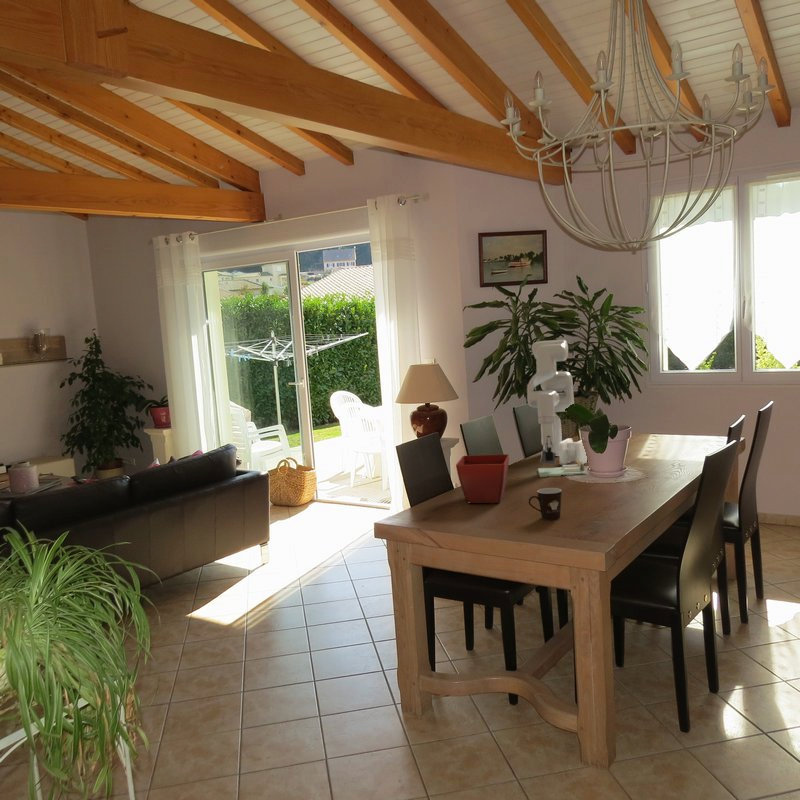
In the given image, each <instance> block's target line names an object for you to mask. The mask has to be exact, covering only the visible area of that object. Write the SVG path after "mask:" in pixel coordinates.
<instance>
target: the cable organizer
mask: <svg viewBox="0 0 800 800" xmlns="http://www.w3.org/2000/svg"><path fill="white" fill-rule="evenodd" d="M558 448H559V456H558V458H559V459H558V461H559V465H561V466H562V465H568V464H570V463H572V462H574V463H577V464H578V466H579V460H580V461H582V462H583V463H584V464H587V463H588V462H587V456H586V452H585V449H584V446H583V443H582V439H581V440H578V441H574V440H573V438H571V437H570V438H569V437H567V438H566V439H563V440H562V442H560V443H559V445H558Z"/></svg>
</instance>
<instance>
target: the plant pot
mask: <svg viewBox="0 0 800 800" xmlns="http://www.w3.org/2000/svg"><path fill="white" fill-rule="evenodd" d="M509 459H510V454H506V453H505V454H504V453H503V454H476V455H475V454H474V455H473V454H472V455H471V454H470V455H469V454H468V455H463V456H462V457H460V459H459V460H458V462H457V463H456V464H455V468H456V473H457V476H458V480H459V484H460V488H461V490H462V492H463V496H464V498H465V500H466V502H467V503H468V502H470V503H498V504H500V503H501V501H502V499H503V497H504V493H505V488H506V484H507V478H508V470H509V463H510V461H509ZM499 502H500V503H499Z"/></svg>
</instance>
